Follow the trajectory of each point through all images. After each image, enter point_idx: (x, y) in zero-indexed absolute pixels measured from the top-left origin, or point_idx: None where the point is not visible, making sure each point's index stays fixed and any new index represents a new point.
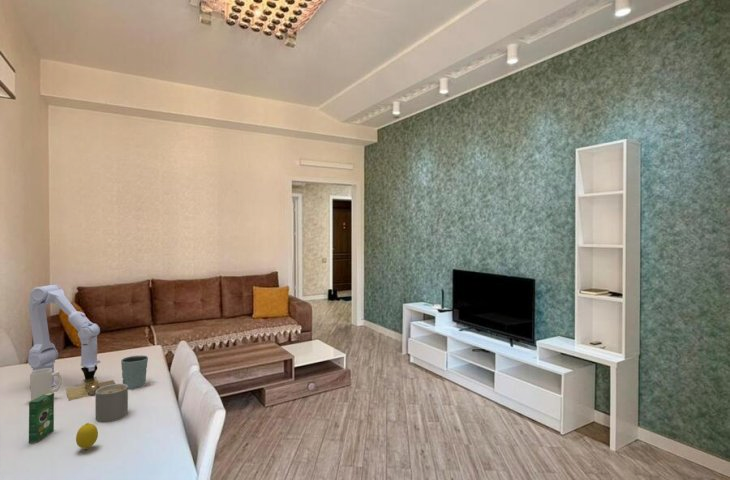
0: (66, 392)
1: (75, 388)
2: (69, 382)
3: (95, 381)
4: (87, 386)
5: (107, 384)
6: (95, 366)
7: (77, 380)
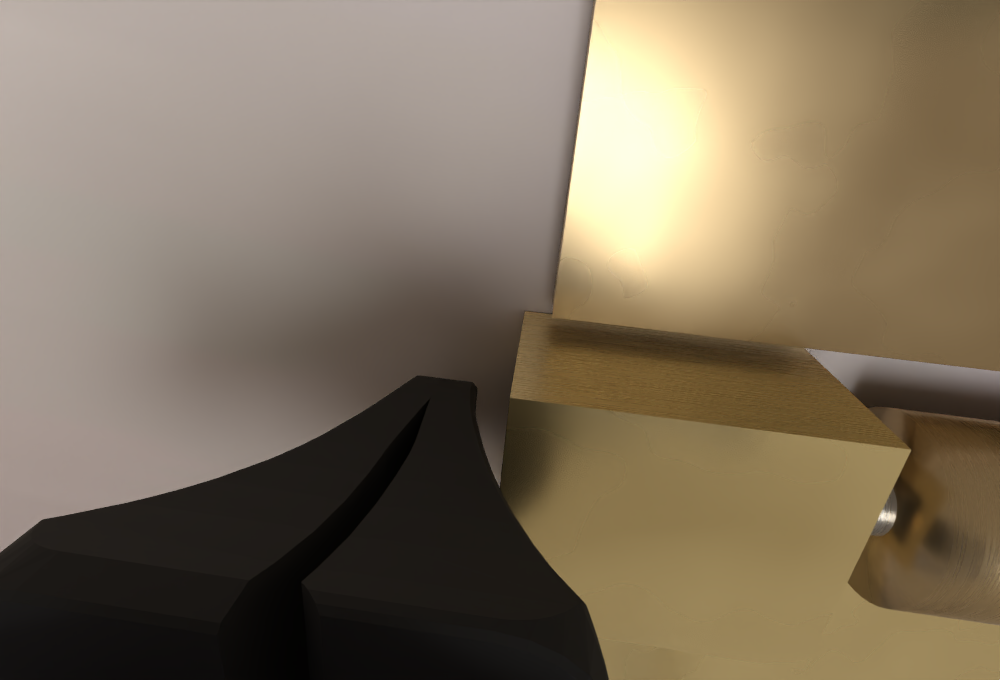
0: None
1: None
2: None
3: (881, 494)
4: (873, 599)
5: (868, 167)
6: (241, 654)
7: (23, 442)
